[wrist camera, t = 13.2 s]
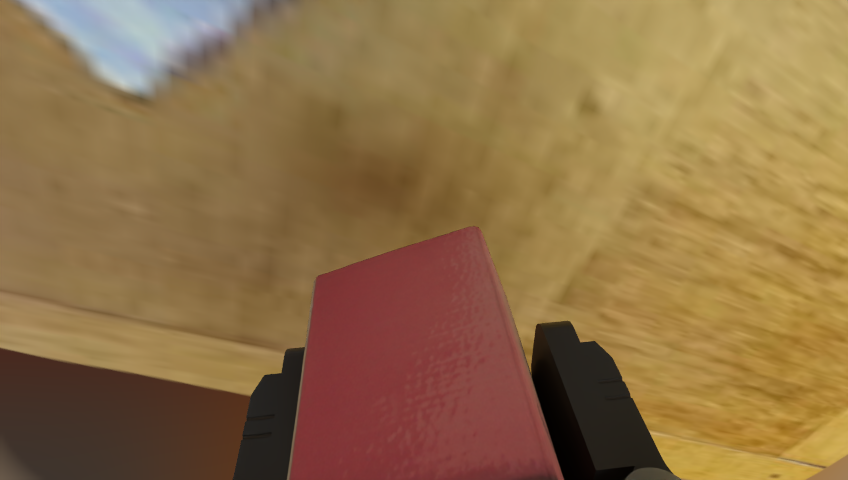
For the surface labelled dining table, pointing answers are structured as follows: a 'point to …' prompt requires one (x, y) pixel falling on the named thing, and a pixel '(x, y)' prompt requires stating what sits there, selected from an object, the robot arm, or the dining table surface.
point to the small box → (418, 373)
